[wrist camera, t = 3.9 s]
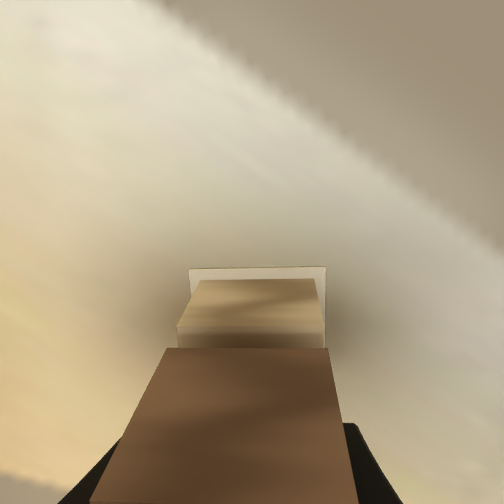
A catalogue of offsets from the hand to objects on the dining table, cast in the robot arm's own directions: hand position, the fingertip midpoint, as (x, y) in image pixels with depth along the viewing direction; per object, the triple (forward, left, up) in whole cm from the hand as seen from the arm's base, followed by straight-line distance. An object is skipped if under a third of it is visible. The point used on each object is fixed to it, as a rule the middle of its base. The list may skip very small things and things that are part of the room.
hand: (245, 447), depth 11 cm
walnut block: (0, 0, -2) cm, 2 cm away
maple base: (0, 0, -7) cm, 7 cm away
